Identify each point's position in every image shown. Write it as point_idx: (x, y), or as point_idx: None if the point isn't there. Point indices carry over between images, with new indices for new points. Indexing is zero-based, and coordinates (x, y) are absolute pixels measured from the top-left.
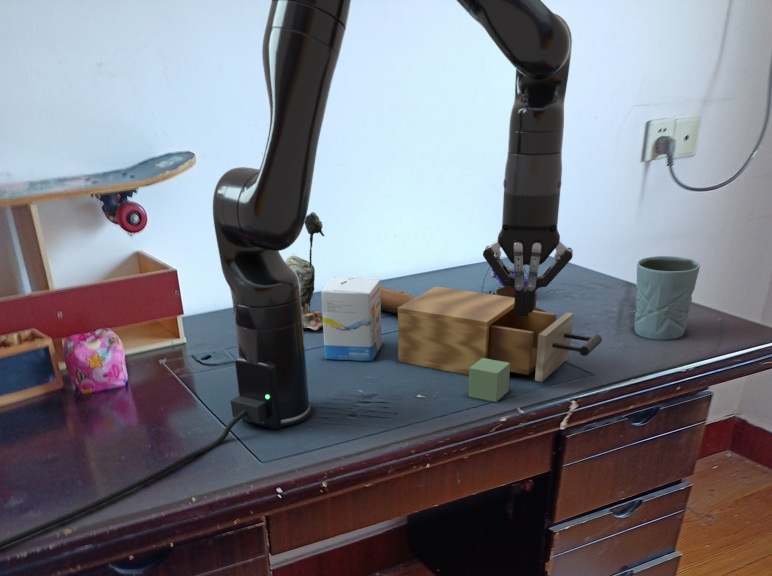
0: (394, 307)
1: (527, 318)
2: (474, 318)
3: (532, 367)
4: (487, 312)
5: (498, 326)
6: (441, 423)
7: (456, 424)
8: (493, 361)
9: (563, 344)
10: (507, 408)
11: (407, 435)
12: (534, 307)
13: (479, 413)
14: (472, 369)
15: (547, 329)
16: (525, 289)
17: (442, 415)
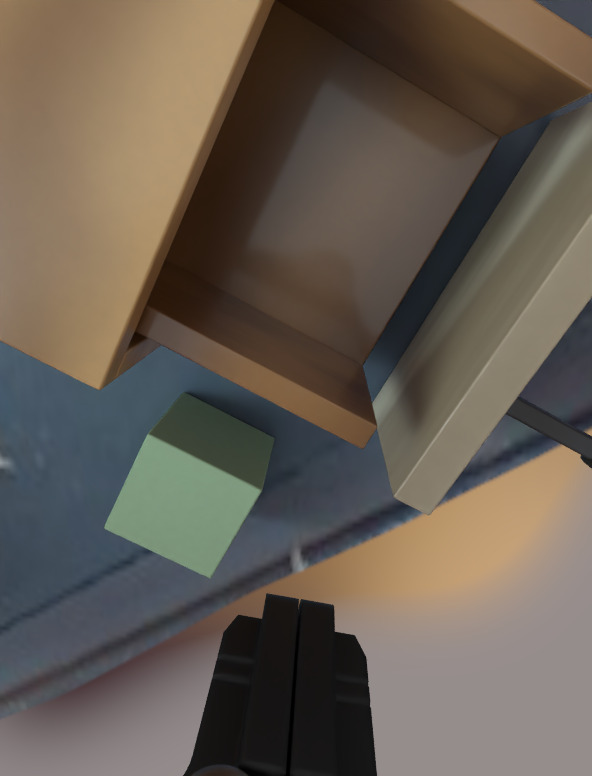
0: None
1: (402, 3)
2: (14, 326)
3: (372, 349)
4: (86, 195)
5: (183, 333)
6: (87, 622)
7: (126, 629)
8: (194, 473)
9: (526, 407)
10: (264, 550)
11: (16, 672)
12: None
13: (183, 575)
14: (117, 533)
15: (460, 424)
16: (286, 755)
17: (83, 581)
